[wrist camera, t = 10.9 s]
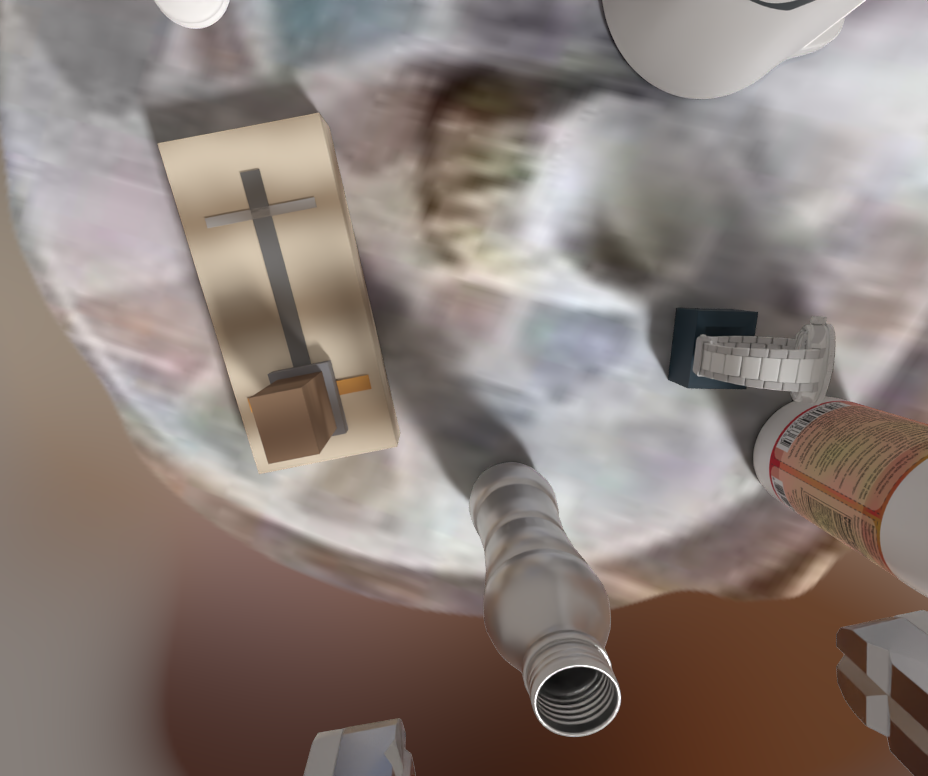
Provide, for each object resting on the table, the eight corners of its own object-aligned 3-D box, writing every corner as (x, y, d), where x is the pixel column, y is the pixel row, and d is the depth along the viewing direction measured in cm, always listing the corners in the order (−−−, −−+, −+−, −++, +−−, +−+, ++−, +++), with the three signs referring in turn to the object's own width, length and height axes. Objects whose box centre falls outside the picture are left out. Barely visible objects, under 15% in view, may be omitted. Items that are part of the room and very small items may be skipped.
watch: (745, 380, 38) (865, 420, 28) (645, 379, 38) (728, 418, 27) (756, 308, 37) (887, 320, 26) (653, 306, 37) (743, 317, 26)
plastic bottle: (524, 540, 40) (607, 786, 21) (452, 507, 39) (467, 732, 20) (563, 475, 39) (689, 670, 20) (490, 439, 38) (545, 606, 19)
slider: (272, 371, 33) (237, 391, 27) (330, 359, 33) (308, 377, 27) (292, 440, 34) (262, 473, 28) (348, 429, 34) (330, 460, 28)
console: (182, 155, 33) (156, 142, 30) (329, 127, 33) (318, 111, 30) (272, 458, 38) (258, 474, 34) (400, 433, 38) (396, 447, 35)
